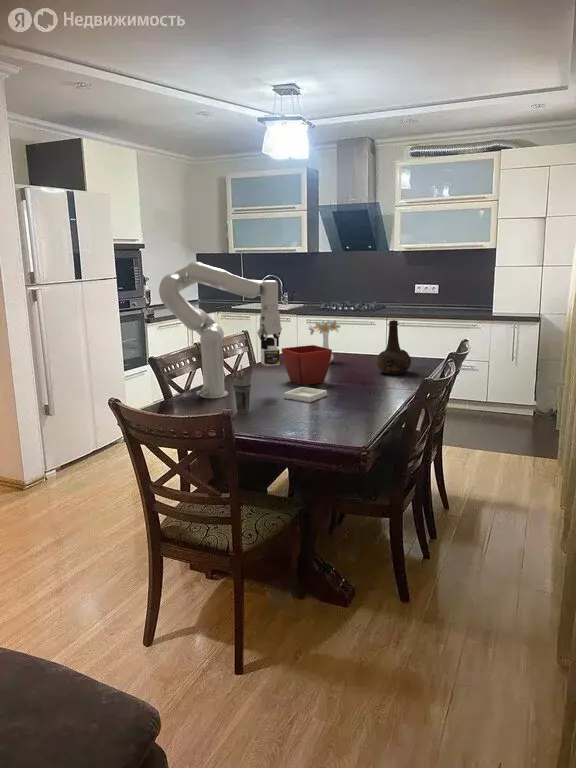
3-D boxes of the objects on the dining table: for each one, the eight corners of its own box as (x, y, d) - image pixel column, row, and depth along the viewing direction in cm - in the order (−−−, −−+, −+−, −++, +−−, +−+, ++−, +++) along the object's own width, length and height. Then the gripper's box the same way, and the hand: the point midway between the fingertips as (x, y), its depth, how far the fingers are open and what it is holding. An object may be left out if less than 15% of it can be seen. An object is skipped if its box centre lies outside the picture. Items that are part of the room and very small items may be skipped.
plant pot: (281, 380, 295) (280, 347, 292) (313, 376, 304) (313, 344, 300) (299, 388, 279) (298, 353, 275) (333, 383, 287) (333, 349, 283)
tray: (309, 402, 251) (309, 396, 251) (283, 398, 260) (283, 392, 259) (326, 395, 262) (326, 390, 262) (301, 392, 271) (301, 386, 270)
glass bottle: (417, 374, 304) (418, 321, 298) (387, 378, 297) (388, 323, 291) (398, 368, 320) (399, 318, 314) (370, 371, 314) (370, 319, 307)
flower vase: (309, 360, 348) (309, 318, 342) (340, 360, 346) (340, 318, 340) (308, 364, 335) (307, 321, 330) (340, 364, 333) (340, 321, 328)
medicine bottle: (264, 365, 260) (264, 339, 257) (260, 363, 266) (260, 337, 264) (279, 365, 261) (279, 338, 259) (275, 362, 268) (275, 336, 265)
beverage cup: (252, 409, 241) (250, 362, 237) (251, 414, 234) (250, 365, 230) (234, 410, 241) (232, 362, 236) (233, 415, 234) (231, 366, 229)
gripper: (264, 310, 249) (264, 351, 253) (288, 307, 263) (288, 345, 267) (250, 309, 254) (251, 349, 258) (274, 306, 267) (275, 344, 271)
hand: (270, 347), depth 262 cm, fingers closed on medicine bottle, 7 cm apart
